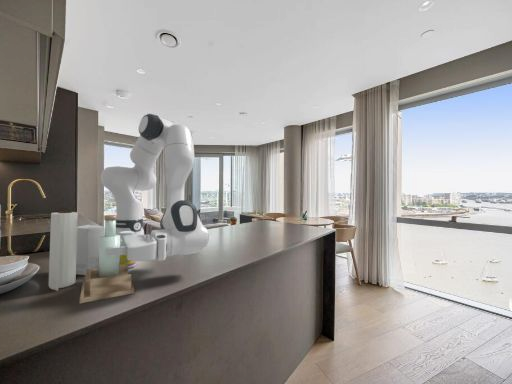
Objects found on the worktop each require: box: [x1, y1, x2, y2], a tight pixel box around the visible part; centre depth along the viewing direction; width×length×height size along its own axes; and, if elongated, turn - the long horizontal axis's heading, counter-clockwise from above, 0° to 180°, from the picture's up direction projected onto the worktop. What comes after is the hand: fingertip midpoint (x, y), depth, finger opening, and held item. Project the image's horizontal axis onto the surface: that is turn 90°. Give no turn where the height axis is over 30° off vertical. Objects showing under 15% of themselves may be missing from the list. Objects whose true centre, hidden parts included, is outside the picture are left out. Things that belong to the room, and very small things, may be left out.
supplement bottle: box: [119, 231, 137, 270], centre depth 85 cm, size 7×7×13 cm
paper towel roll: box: [48, 211, 79, 291], centre depth 67 cm, size 7×6×21 cm
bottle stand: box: [79, 264, 135, 304], centre depth 65 cm, size 12×12×5 cm
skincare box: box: [76, 224, 105, 276], centre depth 78 cm, size 8×7×16 cm
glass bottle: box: [98, 214, 120, 278], centre depth 65 cm, size 5×5×18 cm
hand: (105, 248), depth 65 cm, fingers closed on glass bottle, 5 cm apart
